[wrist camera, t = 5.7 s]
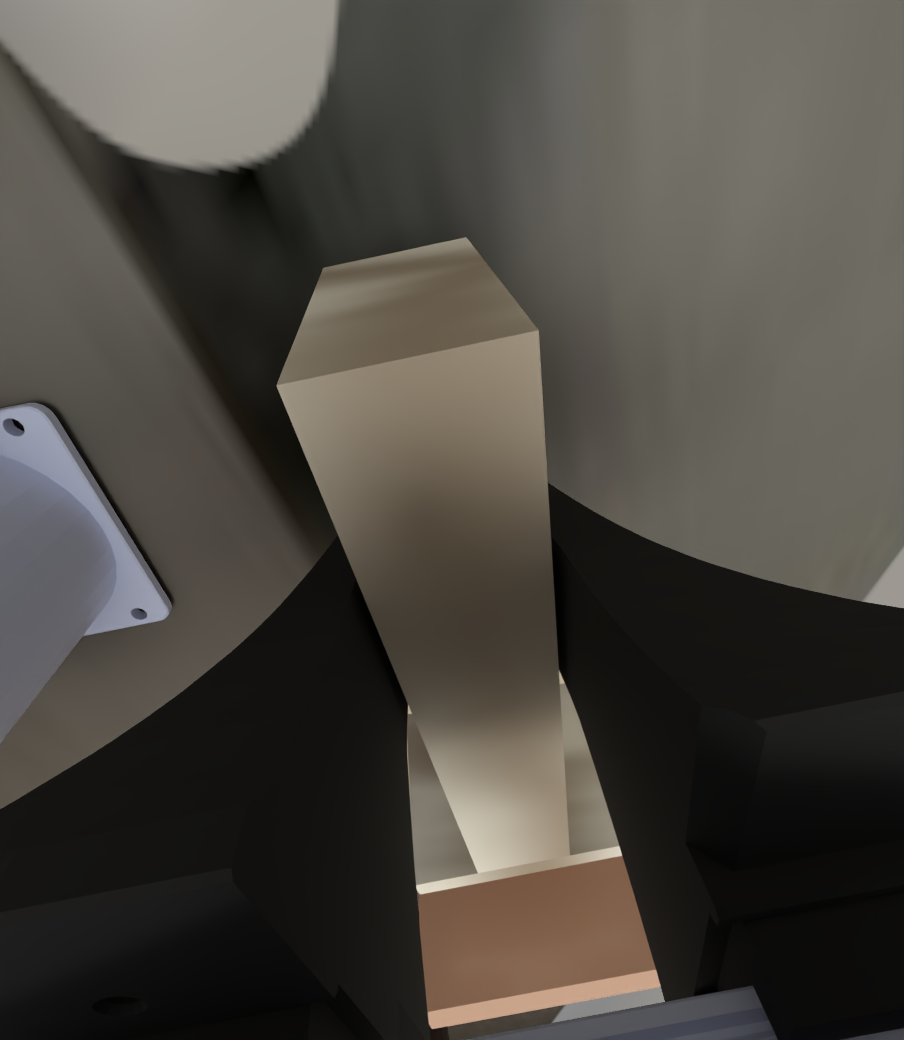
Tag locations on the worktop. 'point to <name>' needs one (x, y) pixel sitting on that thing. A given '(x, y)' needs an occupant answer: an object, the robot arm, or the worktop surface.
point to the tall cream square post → (451, 550)
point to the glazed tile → (532, 943)
